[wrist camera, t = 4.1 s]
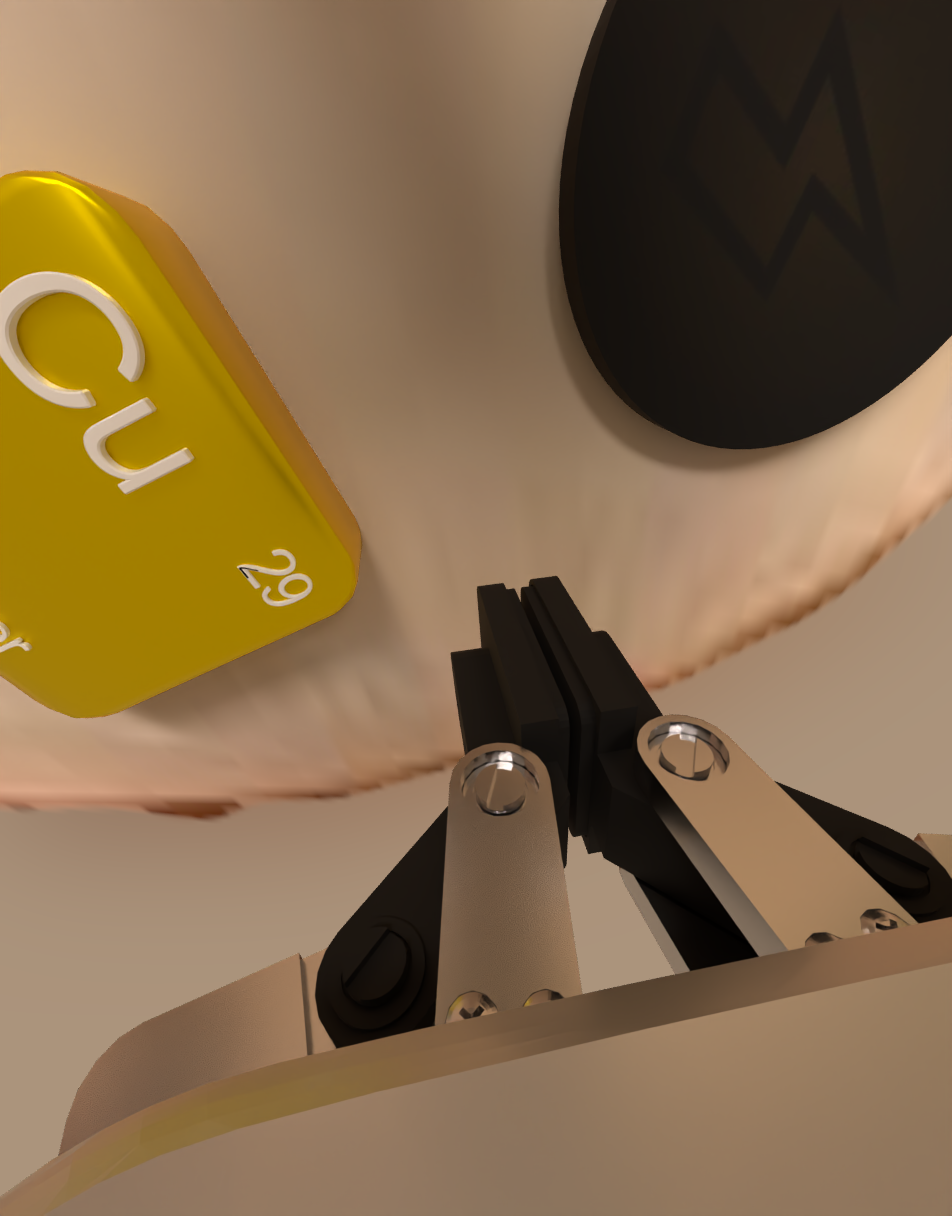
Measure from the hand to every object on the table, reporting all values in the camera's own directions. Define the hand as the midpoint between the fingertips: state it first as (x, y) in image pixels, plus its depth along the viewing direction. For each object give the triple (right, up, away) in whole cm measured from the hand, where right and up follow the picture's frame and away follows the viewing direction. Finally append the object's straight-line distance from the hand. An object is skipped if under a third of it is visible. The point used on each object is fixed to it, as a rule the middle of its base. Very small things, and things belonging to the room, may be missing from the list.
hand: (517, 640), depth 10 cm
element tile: (-15, +6, +10) cm, 19 cm away
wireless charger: (+11, +16, +8) cm, 21 cm away
